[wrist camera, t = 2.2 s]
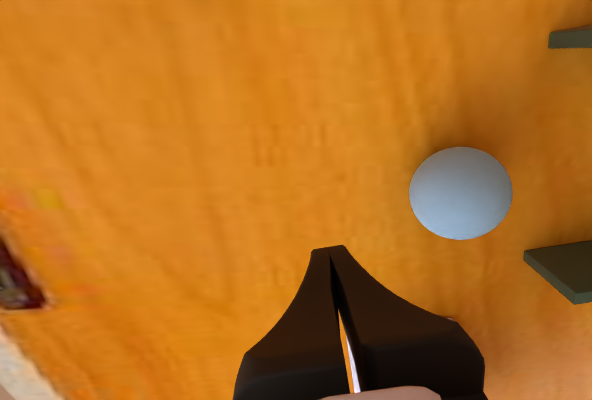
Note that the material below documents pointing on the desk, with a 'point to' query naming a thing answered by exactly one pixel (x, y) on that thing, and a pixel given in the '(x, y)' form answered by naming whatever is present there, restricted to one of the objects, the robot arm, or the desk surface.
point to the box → (577, 256)
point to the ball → (460, 193)
